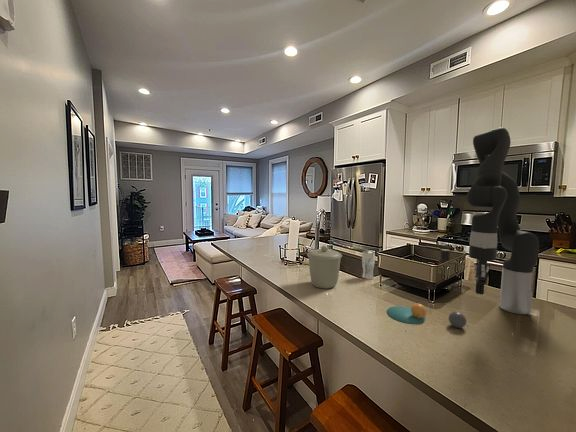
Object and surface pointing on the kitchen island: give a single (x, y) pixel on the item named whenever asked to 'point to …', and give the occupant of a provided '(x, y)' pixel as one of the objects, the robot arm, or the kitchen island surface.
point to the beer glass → (368, 264)
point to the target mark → (403, 315)
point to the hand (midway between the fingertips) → (479, 293)
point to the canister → (324, 267)
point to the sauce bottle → (445, 258)
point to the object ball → (418, 310)
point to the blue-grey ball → (457, 319)
